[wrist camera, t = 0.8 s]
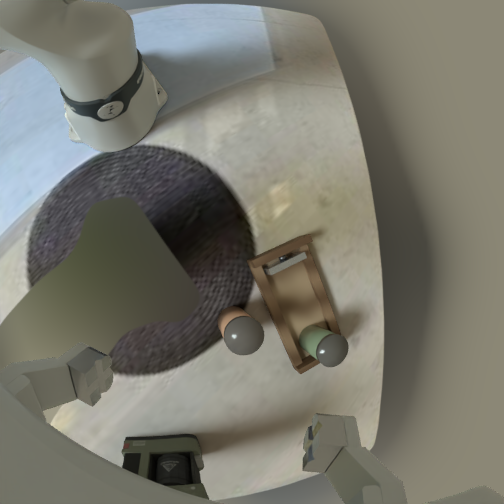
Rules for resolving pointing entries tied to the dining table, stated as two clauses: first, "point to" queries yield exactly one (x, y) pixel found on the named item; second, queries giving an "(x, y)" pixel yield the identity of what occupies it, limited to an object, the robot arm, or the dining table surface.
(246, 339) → the terracotta jar
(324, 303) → the wooden tray
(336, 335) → the olive jar
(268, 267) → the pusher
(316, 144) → the dining table surface
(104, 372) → the robot arm
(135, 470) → the device
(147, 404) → the dining table surface
